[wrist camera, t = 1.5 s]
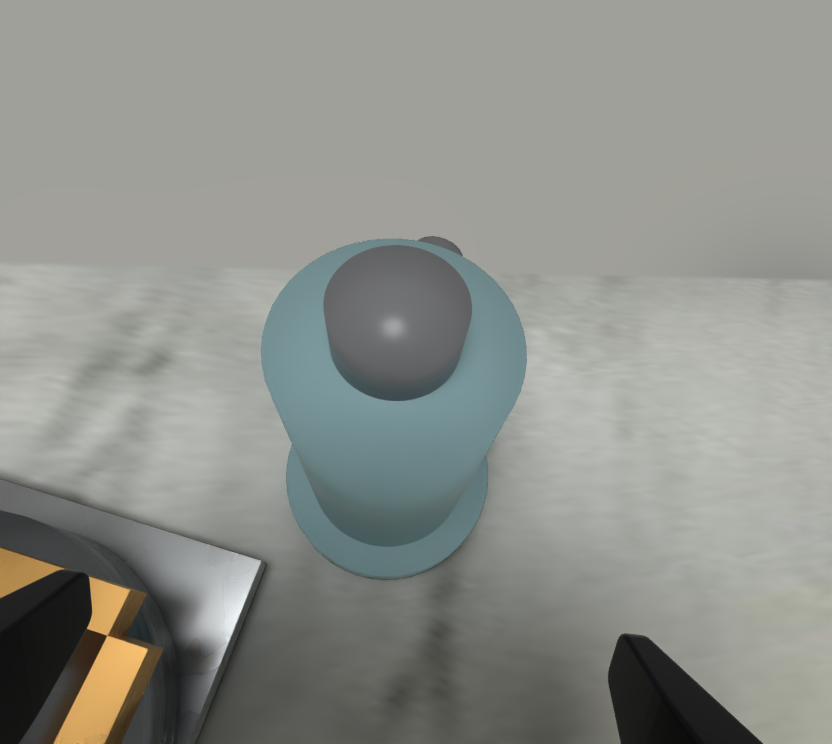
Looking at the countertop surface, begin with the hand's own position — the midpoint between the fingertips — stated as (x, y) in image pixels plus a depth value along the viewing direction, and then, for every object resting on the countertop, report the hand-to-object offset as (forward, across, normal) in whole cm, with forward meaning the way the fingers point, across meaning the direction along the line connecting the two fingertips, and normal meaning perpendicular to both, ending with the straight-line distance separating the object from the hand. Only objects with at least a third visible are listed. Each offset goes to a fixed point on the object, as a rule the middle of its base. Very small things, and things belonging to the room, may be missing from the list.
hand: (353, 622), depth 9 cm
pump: (+12, 0, +4) cm, 13 cm away
